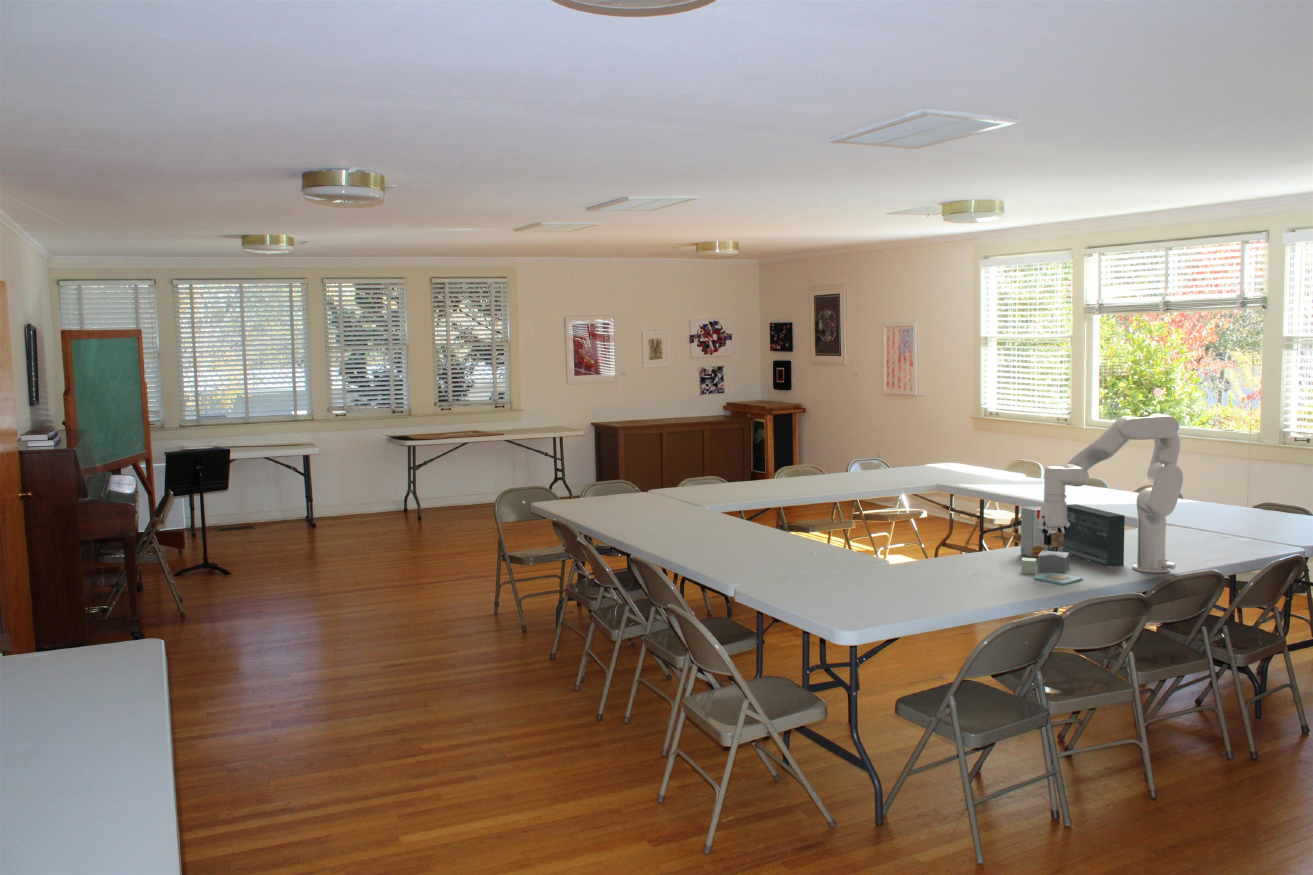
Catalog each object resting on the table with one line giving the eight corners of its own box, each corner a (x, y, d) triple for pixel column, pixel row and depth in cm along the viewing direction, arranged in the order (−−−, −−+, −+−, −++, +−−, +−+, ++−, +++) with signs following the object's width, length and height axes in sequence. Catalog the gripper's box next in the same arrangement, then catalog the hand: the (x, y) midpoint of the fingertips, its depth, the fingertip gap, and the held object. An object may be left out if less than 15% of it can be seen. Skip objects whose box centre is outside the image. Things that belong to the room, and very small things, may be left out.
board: (1082, 579, 343) (1082, 577, 342) (1064, 585, 336) (1064, 582, 336) (1052, 574, 352) (1052, 571, 352) (1034, 579, 345) (1034, 576, 345)
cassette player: (1123, 565, 364) (1124, 515, 362) (1108, 566, 362) (1109, 516, 360) (1075, 550, 392) (1076, 504, 390) (1061, 551, 391) (1061, 505, 389)
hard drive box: (1031, 557, 381) (1032, 510, 379) (1019, 554, 388) (1020, 507, 386) (1063, 554, 385) (1064, 507, 383) (1051, 551, 392) (1051, 504, 390)
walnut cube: (1053, 543, 364) (1054, 531, 364) (1063, 546, 359) (1063, 533, 359) (1043, 544, 362) (1043, 532, 362) (1052, 547, 358) (1053, 534, 357)
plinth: (1069, 567, 363) (1069, 552, 363) (1065, 572, 355) (1065, 557, 354) (1042, 565, 368) (1042, 550, 368) (1037, 570, 360) (1038, 555, 359)
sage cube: (1035, 571, 358) (1036, 558, 358) (1035, 573, 354) (1035, 561, 353) (1022, 570, 360) (1022, 557, 360) (1021, 573, 356) (1021, 560, 355)
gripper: (1065, 495, 365) (1064, 540, 367) (1029, 498, 360) (1028, 544, 362) (1079, 498, 358) (1078, 544, 360) (1043, 500, 353) (1042, 547, 355)
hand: (1053, 543), depth 361 cm, fingers closed on walnut cube, 5 cm apart
